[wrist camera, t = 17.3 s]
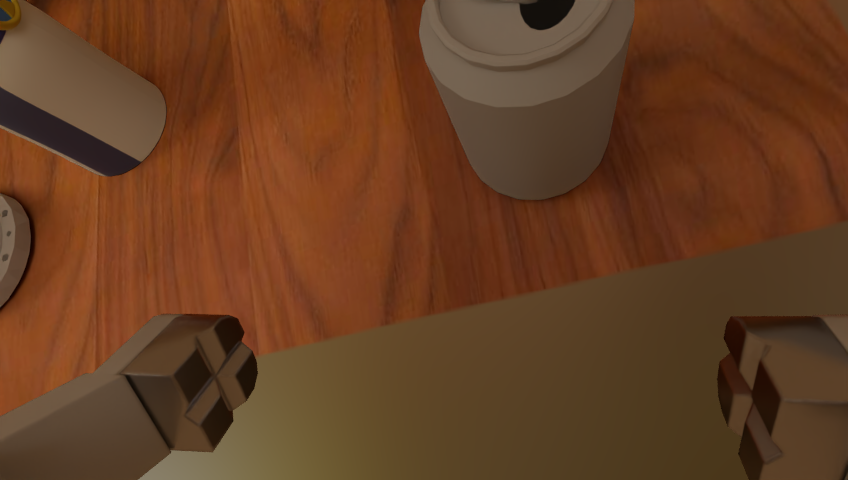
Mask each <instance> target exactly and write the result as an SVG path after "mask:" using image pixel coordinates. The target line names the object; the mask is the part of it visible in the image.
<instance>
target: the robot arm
mask: <svg viewBox="0 0 848 480" xmlns="http://www.w3.org/2000/svg"><path fill="white" fill-rule="evenodd" d="M243 335H244V330H243V328H242V326H241V324H240V322H239V320H238V318H235V317H233V316H230V315H208V314H161V315H158V316H154V317H153V318H152V319H150V320H149V321H148V322H147V323H146V324H145V325H144V326H143V327H142V328H141V329H140V330H139V331H138V332H137V333H135V334H134V335H133V336H132V337H131V338H130V339H129V340H128V341H127V342H126V343H125V344H124V345H123V346H122V347H120V348H119V349H118V350H117V351H116V352H115V353H114V354H113V355H112V356H111V357H110V358H109V359H108V360H107V361H105V362H104V363H103V364H102V365H101V366H100V367H99V368H98V369H97V370H96V371H95V372H94V373H93V374H88V373H85V374H83V375H81V376H79V377H77V378H75V379H73V380H71V381H69V382H67V383H65V384H63V385H61V386H60V387H58V388H56V389H54V390H52V391H50V392H48V393H46V394H44V395H42V396H40V397H38V398H36V399H34V400H32V401H30V402H28V403H26V404H24V405H22V406H20V407H18V408H16V409H14V410H12V411H10V412H8V413H6V414H4V415H2V416H0V480H138V479H139V478H140V477H142V476H143V475H144V474H145V473H147V472H148V471H149V470H150V469H151V468H153V467H154V466H155V465H156V464H158V463H159V462H160V461H161V460H163V459H164V458H165V457H166V456H168V455H169V454H170V453H171V451H170V450H180V451H198V452H213V451H214V450H215V448H216V447H217V445H218V444H219V442H220V441H221V439H222V438H223V436H224V434H225V433H226V431H227V430H228V428H229V427H230V425H231V424H232V422H233V410H234V409H236V408H237V407H239V406H240V405H241V404H243V403H244V402H246V401H247V399H248V398H249V396H250V394H251V393H252V391H253V390H254V387H255V382H256V378H257V374H258V371H257V362H256V359H255V356H254V354H253V351H252V350H251V349H250V348H248V347H247V346H246V345H245V344H244V343H242V342H241V341H242V338H243ZM724 335H725V336H724V340H725V342H726V344H727V347H728V349H729V351H730V353H729V354H728V355H727V356H726V357H725V358H724V359H722V360H721V361H720V363H719V370H718V378H717V380H718V396H719V401H720V405H721V409H722V413H723V415H724V418H725V421H726V423H727V426H728V427H729V428H730V429H731V430H733V431H734V432H735V433H737V434H738V435H739V436H740V437H742V439H741V444H740V448H739V453H738V454H739V456H740V459H741V461H742V464H743V466H744V469H745V471H746V474H747V476H748V479H749V480H848V315H813V316H812V317H811V316H760V317H759V316H757V317H756V316H748V317H747V316H744V317H743V316H742V317H741V316H740V317H739V316H737V317H735V316H734V317H733V316H731V317H730V319H729V321H728V322H727V325H726V330H725V334H724Z"/></svg>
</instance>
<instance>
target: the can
mask: <svg viewBox="0 0 848 480" xmlns="http://www.w3.org/2000/svg"><path fill="white" fill-rule="evenodd" d="M633 21H634V0H426V1H425V3H424V5H423V8H422V15H421V23H420V30H419V37H420V41H421V45H422V50H423V54H424V58H425V61H426V64H427V66H428V68H429V71H430V73H431V75H432V78H433V80H434V82H435V85H436V87H437V89H438V91H439V94H440V96H441V98H442V101H443V103H444V105H445V108H446V110H447V112H448V114H449V117H450V119H451V121H452V124H453V126H454V128H455V131H456V133H457V135H458V138H459V140H460V142H461V144H462V147H463V149H464V151H465V154H466V156H467V158H468V161H469V163H470V165H471V166H472V168H473V169H474V171H475V172H476V173H477V175H478V176H479V178H480V179H481V180H482V181H483V182H484V183H486V184H487V185H488V186H490V187H491V188H492V189H494V190H495V191H496V192H498V193H501V194H504V195H507V196H510V197H513V198H516V199H524V200H543V199H547V198H550V197H554V196H558V195H561V194H565V193H567V192H568V191H570V190H571V189H573V188H575V187H576V186H578V185H579V184H581V183H583V182H584V181H585V180H586V179H587V178H588V177H589V176H590V175H591V173H592V172H593V171H594V170H595V169H596V168H597V166H598V165H599V164H600V162H601V160H602V157H603V155H604V152H605V150H606V148H607V145H608V142H609V137H610V132H611V127H612V123H613V118H614V113H615V108H616V103H617V98H618V94H619V89H620V84H621V79H622V74H623V69H624V64H625V60H626V55H627V50H628V45H629V40H630V35H631V30H632V26H633Z"/></svg>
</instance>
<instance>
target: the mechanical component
mask: <svg viewBox="0 0 848 480" xmlns="http://www.w3.org/2000/svg"><path fill="white" fill-rule="evenodd" d="M30 243H31V234H30V225H29V219H28V217H27V215H26V213H25V211H24V209H23V207H22V206H21V204H19V203H18V202H17V201H16V200H15V199H13V198H11V197H9V196H6V195H4V194H1V193H0V307H1V306H2V305H3V304H4V303H5V302H6V301H7V300H8V299H9V297H10V295H11V294H12V292H13V291H14V289H15V288H16V286H17V284H18V283H19V281H20V279H21V276H22V274H23V272H24V270H25V267H26V263H27V260H28V256H29V252H30Z"/></svg>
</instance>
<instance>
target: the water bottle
mask: <svg viewBox="0 0 848 480" xmlns="http://www.w3.org/2000/svg"><path fill="white" fill-rule="evenodd" d="M165 120H166V104H165V100H164V97H163V95H162V93H161V91H160V90H159V89H158V88H157V87H156V86H155V85H154V84H152V83H151V82H149V81H147V80H146V79H144V78H143V77H141V76H139V75H138V74H136V73H135V72H133V71H131V70H130V69H128V68H127V67H125V66H124V65H122V64H120V63H119V62H117V61H116V60H114V59H113V58H111V57H110V56H108V55H106V54H105V53H103V52H102V51H100V50H99V49H97V48H96V47H94V46H93V45H91V44H90V43H88V42H87V41H85V40H84V39H82V38H81V37H80V36H78V35H77V34H75V33H74V32H72V31H71V30H69V29H68V28H66V27H65V26H64V25H62V24H61V23H59V22H58V21H56V20H55V19H53V18H52V17H50V16H49V15H47V14H46V13H44V12H43V11H41V10H40V9H38V8H36V7H35V6H33V5H31V4H30V3H28V2H27V1H25V0H0V128H2V129H4V130H6V131H8V132H10V133H13V134H15V135H17V136H19V137H21V138H24V139H26V140H28V141H30V142H32V143H34V144H36V145H39V146H41V147H43V148H45V149H47V150H49V151H51V152H53V153H55V154H57V155H59V156H61V157H63V158H65V159H67V160H69V161H71V162H73V163H75V164H77V165H79V166H81V167H83V168H85V169H87V170H89V171H91V172H93V173H95V174H97V175H101V176H115V175H119V174H122V173H125V172H127V171H129V170H131V169H133V168H134V167H136V166H137V165H138V164H140V163H141V162H142V161H143V160H144V159H145V158H146V157H147V156H148V155H149V154H150V153H151V151H152V150H153V149H154V147H155V146H156V144H157V142H158V140H159V139H160V136H161V134H162V131H163V129H164V125H165Z"/></svg>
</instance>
